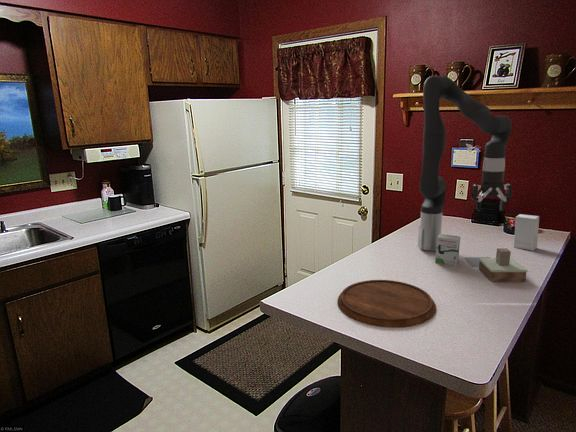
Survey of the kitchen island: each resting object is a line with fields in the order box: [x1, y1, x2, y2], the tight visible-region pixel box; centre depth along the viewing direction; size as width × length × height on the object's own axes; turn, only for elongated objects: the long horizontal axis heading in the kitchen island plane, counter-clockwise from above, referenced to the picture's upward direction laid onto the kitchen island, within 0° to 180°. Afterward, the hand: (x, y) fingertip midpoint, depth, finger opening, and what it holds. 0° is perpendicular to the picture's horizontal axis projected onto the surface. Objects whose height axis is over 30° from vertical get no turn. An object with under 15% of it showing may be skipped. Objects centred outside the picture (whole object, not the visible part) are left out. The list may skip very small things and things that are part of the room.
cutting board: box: [337, 279, 437, 329], centre depth 139 cm, size 32×32×3 cm
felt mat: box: [462, 256, 491, 268], centre depth 171 cm, size 11×11×1 cm
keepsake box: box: [478, 262, 527, 283], centre depth 156 cm, size 12×12×4 cm
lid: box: [479, 247, 528, 273], centre depth 155 cm, size 12×12×6 cm
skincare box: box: [513, 213, 540, 251], centre depth 186 cm, size 8×6×15 cm
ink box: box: [434, 233, 461, 267], centre depth 170 cm, size 9×5×12 cm, turn 62°
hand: (490, 210), depth 162 cm, fingers open, 8 cm apart
